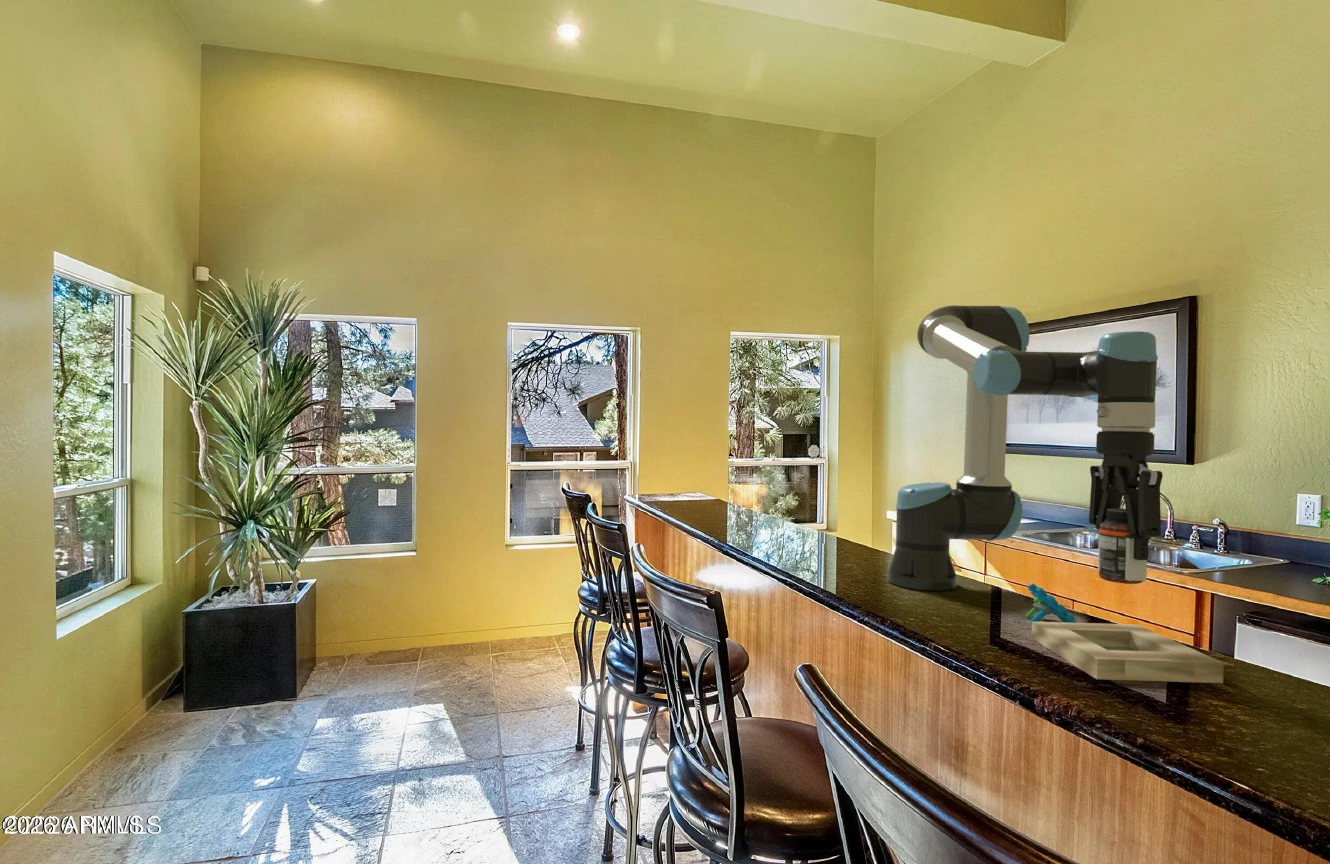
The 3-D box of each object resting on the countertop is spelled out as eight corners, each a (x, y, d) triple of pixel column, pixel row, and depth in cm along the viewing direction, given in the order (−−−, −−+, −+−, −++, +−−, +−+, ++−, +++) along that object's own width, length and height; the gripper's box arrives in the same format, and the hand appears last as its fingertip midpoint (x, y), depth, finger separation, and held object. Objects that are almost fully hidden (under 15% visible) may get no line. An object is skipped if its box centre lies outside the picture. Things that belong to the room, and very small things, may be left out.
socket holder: (1031, 638, 113) (1031, 621, 113) (1137, 641, 113) (1137, 624, 113) (1096, 679, 95) (1097, 658, 95) (1223, 683, 95) (1223, 662, 95)
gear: (1089, 626, 115) (1045, 583, 118) (1064, 649, 116) (1020, 605, 118) (1064, 617, 126) (1023, 578, 128) (1041, 637, 126) (1001, 598, 129)
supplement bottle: (1126, 576, 107) (1128, 507, 106) (1153, 585, 101) (1155, 512, 100) (1089, 575, 107) (1091, 506, 107) (1114, 584, 101) (1116, 511, 101)
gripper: (1066, 429, 113) (1062, 562, 113) (1142, 430, 94) (1138, 589, 94) (1110, 430, 113) (1106, 563, 113) (1195, 431, 94) (1191, 591, 94)
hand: (1121, 575), depth 104 cm, fingers closed on supplement bottle, 6 cm apart
